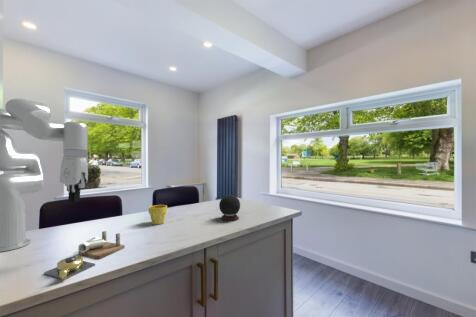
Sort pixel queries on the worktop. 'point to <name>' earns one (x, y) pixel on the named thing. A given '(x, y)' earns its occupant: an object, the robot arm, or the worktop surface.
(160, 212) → the plant pot
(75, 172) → the robot arm
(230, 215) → the black round ball
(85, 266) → the base
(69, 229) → the worktop surface
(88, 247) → the pipe fitting
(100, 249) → the peg rack
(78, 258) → the gold elongated piece
